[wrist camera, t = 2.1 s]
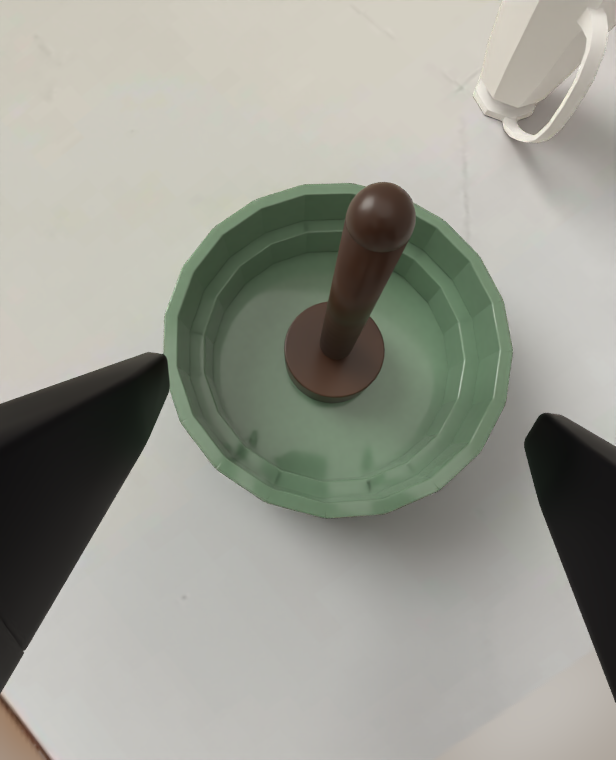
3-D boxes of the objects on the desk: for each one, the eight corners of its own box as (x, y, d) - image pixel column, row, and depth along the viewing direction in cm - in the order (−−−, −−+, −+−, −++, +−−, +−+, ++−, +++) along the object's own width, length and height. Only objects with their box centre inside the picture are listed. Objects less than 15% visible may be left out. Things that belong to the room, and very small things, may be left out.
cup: (548, 57, 26) (661, -121, 18) (569, 180, 23) (707, 39, 16) (449, 53, 25) (518, -130, 18) (461, 177, 23) (546, 32, 15)
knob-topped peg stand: (391, 383, 20) (548, 260, 8) (305, 417, 19) (323, 343, 7) (355, 302, 21) (442, 75, 8) (271, 332, 20) (236, 136, 8)
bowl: (512, 438, 20) (575, 432, 15) (246, 551, 18) (231, 581, 14) (397, 207, 23) (422, 146, 18) (157, 286, 21) (121, 240, 17)
